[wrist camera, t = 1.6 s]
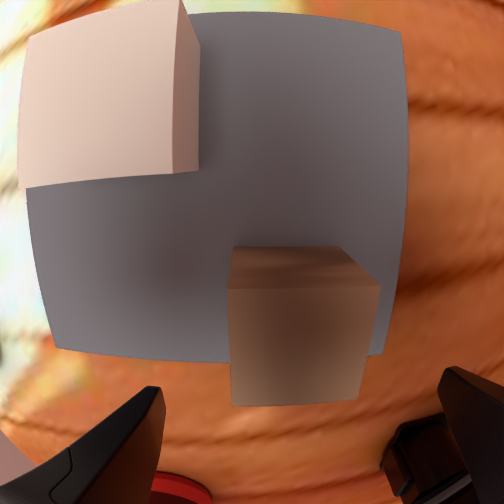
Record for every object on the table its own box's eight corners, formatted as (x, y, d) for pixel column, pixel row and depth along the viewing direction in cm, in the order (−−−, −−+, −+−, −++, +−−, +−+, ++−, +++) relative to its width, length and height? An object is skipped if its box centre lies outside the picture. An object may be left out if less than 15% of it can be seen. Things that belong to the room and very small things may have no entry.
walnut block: (339, 246, 14) (380, 285, 9) (329, 337, 16) (357, 398, 11) (233, 246, 14) (227, 289, 9) (235, 340, 16) (231, 406, 11)
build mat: (395, 35, 12) (400, 32, 11) (378, 348, 17) (382, 354, 16) (38, 54, 11) (33, 52, 11) (60, 343, 16) (56, 347, 16)
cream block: (200, 47, 12) (179, -5, 7) (198, 170, 13) (172, 173, 8) (85, 65, 11) (29, 36, 7) (81, 179, 13) (18, 189, 8)
